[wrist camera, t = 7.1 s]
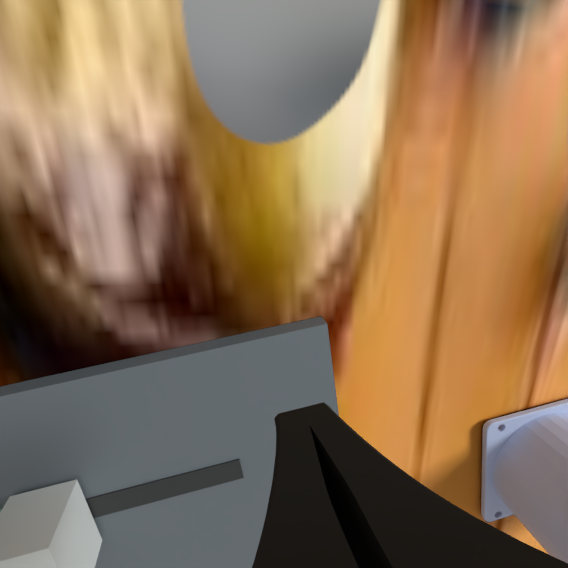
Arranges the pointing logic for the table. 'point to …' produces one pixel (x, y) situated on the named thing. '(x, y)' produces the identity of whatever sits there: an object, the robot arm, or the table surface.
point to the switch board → (169, 442)
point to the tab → (49, 529)
